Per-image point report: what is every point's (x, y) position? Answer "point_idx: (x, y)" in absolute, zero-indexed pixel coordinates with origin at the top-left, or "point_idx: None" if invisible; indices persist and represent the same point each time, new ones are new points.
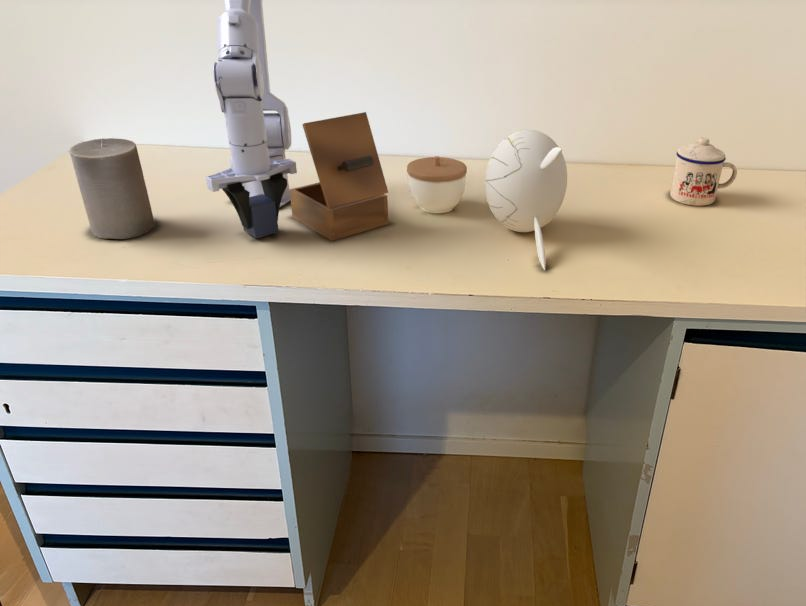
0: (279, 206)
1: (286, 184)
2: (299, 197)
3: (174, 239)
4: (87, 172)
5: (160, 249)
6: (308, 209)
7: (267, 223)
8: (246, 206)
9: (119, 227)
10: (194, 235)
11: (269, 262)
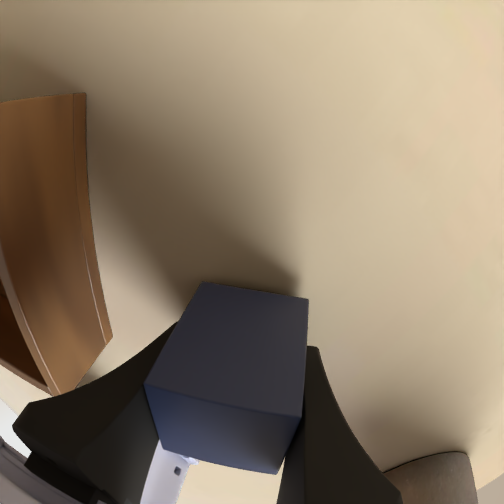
0: (134, 356)
1: (26, 409)
2: (46, 347)
3: (426, 423)
4: None
5: (481, 400)
6: (47, 276)
7: (236, 320)
8: (322, 431)
9: (466, 471)
10: (386, 420)
11: (403, 87)
